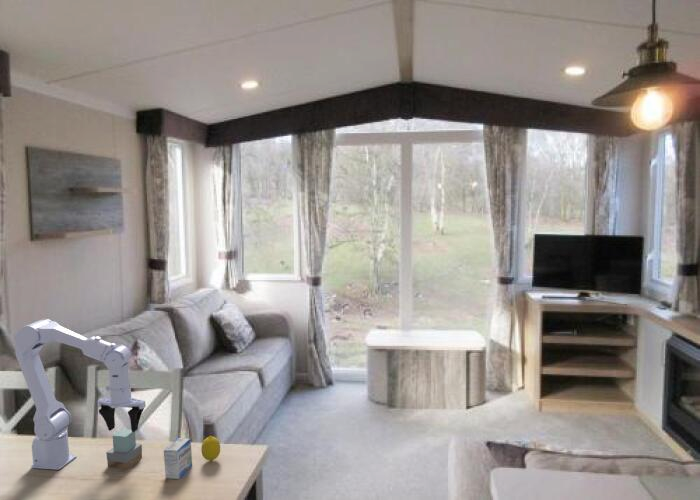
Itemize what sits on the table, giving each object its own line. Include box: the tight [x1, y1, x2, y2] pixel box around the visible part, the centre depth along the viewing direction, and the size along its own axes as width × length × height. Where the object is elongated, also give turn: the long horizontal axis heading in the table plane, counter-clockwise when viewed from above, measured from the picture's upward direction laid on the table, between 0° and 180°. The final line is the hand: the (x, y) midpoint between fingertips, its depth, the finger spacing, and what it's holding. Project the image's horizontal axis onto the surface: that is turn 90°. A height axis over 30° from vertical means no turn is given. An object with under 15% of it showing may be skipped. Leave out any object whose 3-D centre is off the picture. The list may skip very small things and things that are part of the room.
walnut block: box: [106, 451, 143, 470], centre depth 161 cm, size 7×7×2 cm
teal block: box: [112, 428, 137, 453], centre depth 160 cm, size 4×4×5 cm
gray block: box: [106, 443, 143, 463], centre depth 160 cm, size 7×7×2 cm
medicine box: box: [163, 437, 193, 480], centre depth 154 cm, size 8×4×9 cm, turn 168°
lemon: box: [200, 435, 221, 462], centre depth 160 cm, size 6×6×8 cm
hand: (123, 429), depth 159 cm, fingers open, 7 cm apart
